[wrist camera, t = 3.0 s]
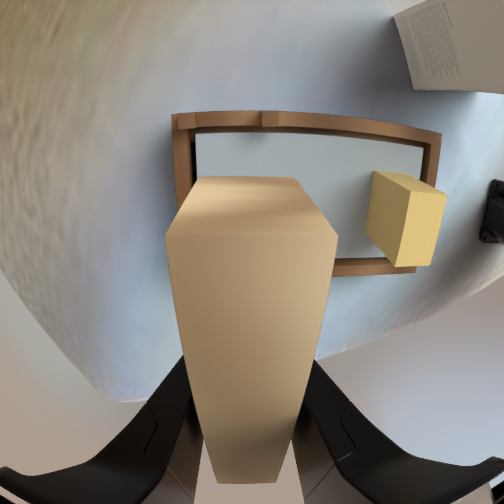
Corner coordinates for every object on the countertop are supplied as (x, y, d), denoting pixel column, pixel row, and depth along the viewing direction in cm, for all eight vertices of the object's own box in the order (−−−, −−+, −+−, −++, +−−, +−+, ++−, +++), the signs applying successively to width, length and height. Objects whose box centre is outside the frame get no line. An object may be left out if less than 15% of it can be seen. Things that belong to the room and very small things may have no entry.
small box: (463, 23, 13) (579, 15, 1) (479, 90, 16) (600, 116, 4) (389, 14, 13) (517, -33, 2) (410, 90, 16) (557, 106, 5)
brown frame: (410, 127, 17) (452, 136, 13) (392, 247, 22) (422, 281, 18) (185, 113, 17) (165, 114, 12) (193, 250, 22) (182, 290, 17)
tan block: (295, 177, 7) (338, 236, 4) (269, 416, 12) (275, 482, 9) (199, 176, 7) (164, 235, 4) (219, 417, 12) (217, 483, 9)
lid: (417, 146, 15) (466, 163, 11) (399, 251, 19) (434, 291, 14) (197, 133, 15) (179, 142, 10) (204, 255, 18) (194, 303, 14)
